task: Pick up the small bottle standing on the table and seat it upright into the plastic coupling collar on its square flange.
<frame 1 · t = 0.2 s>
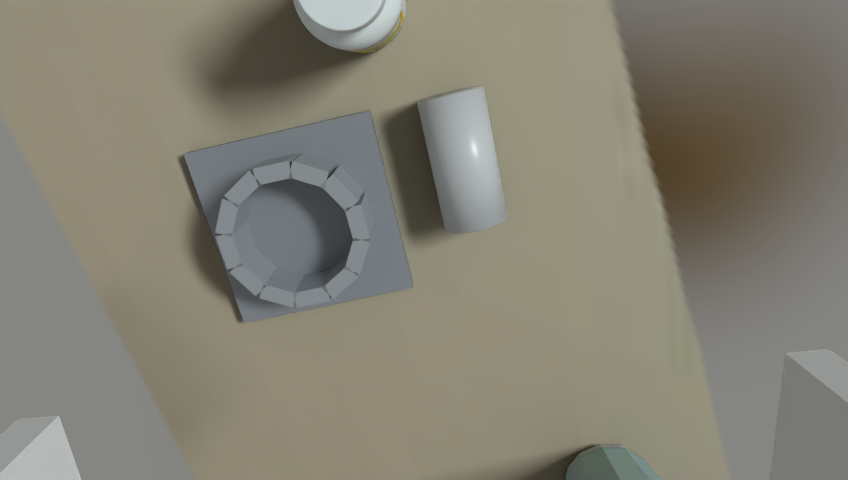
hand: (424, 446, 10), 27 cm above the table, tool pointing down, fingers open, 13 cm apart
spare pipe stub: (460, 154, 35), on the table
supplement bottle: (361, 5, 33), on the table
coupling socket: (305, 220, 37), on the table
disposable coffee cup: (602, 470, 43), on the table
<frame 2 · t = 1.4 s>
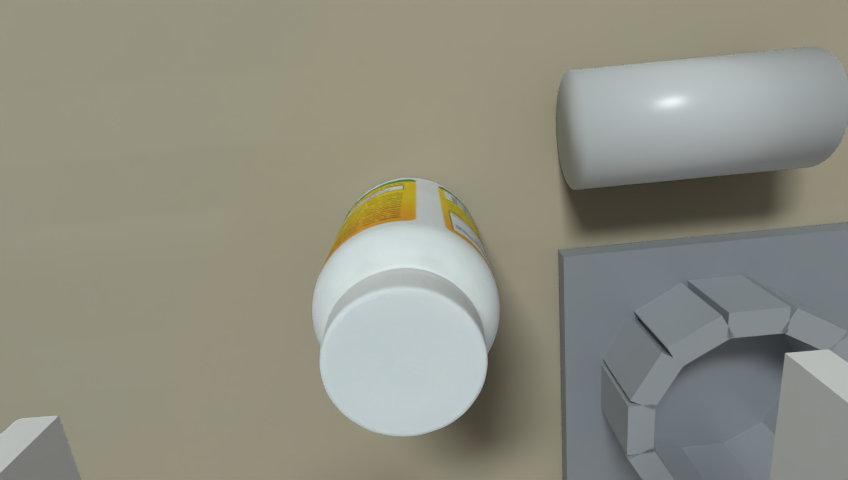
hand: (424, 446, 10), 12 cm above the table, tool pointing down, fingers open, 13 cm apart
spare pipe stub: (662, 114, 21), on the table
supplement bottle: (408, 239, 22), on the table
coupling socket: (697, 366, 24), on the table
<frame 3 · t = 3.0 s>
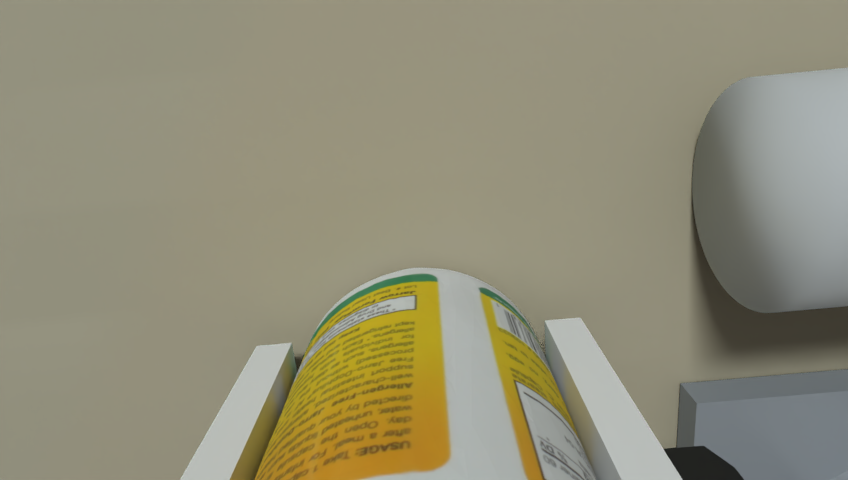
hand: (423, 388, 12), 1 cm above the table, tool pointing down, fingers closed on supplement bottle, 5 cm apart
supplement bottle: (422, 363, 13), on the table, touching gripper
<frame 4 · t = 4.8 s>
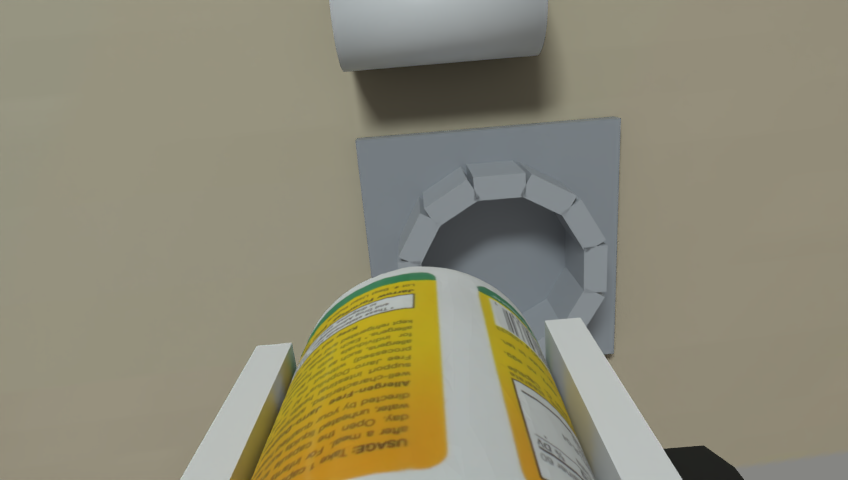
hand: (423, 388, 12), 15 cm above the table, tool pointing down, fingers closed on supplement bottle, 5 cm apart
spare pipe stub: (434, 15, 24), on the table
supplement bottle: (420, 362, 13), point 14 cm above the table, touching gripper
coupling socket: (491, 249, 27), on the table
when the fingers open (4 cm above the table, at t = 6.7 s): supplement bottle stays where it is, point 3 cm above the table.
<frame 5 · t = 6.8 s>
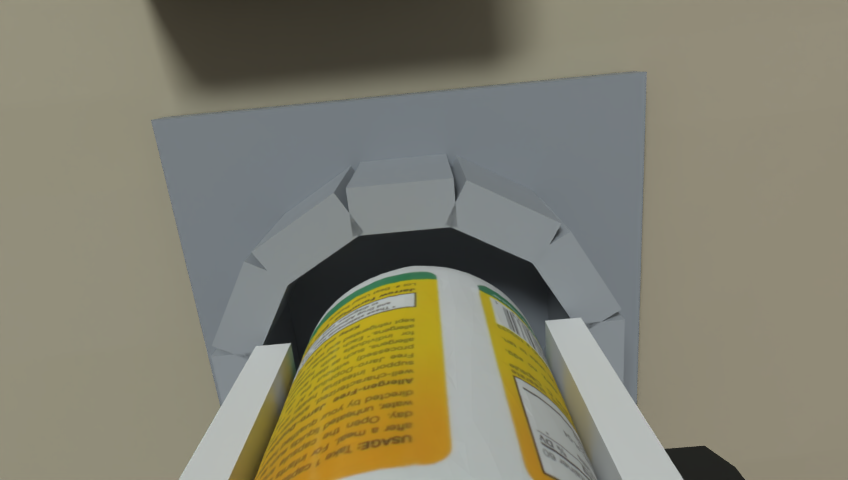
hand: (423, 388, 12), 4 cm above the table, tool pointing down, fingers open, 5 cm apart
supplement bottle: (421, 361, 13), point 3 cm above the table
coupling socket: (420, 308, 16), on the table
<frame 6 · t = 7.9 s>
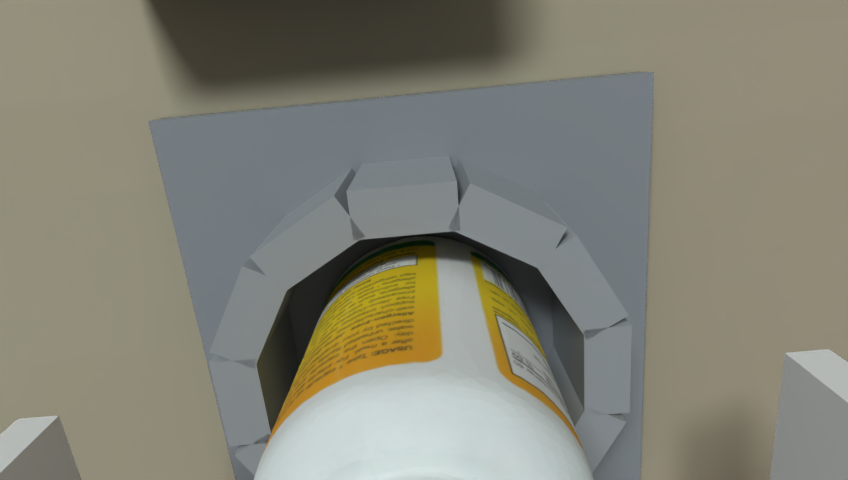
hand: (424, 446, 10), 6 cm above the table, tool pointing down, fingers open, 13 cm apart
supplement bottle: (422, 321, 15), point 1 cm above the table, touching coupling socket
coupling socket: (422, 312, 16), on the table
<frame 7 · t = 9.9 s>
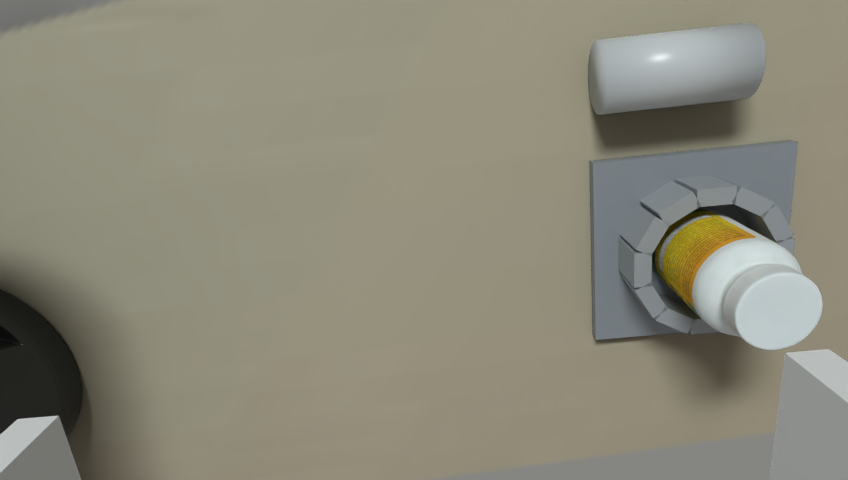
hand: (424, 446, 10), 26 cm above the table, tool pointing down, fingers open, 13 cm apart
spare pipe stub: (656, 69, 32), on the table
supplement bottle: (689, 245, 35), point 1 cm above the table, touching coupling socket
coupling socket: (685, 243, 35), on the table
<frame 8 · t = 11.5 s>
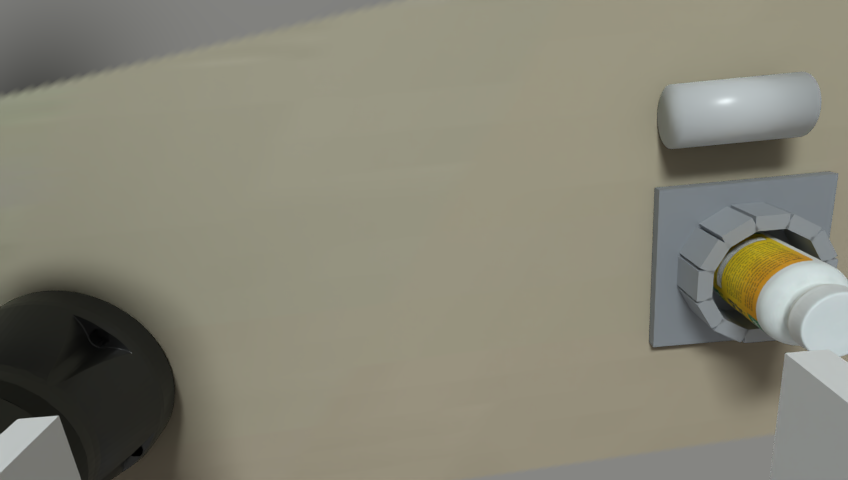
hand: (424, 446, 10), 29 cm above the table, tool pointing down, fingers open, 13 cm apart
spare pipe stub: (717, 108, 36), on the table
supplement bottle: (739, 263, 39), point 1 cm above the table, touching coupling socket
coupling socket: (735, 260, 40), on the table
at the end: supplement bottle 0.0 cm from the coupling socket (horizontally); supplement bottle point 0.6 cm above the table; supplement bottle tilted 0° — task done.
